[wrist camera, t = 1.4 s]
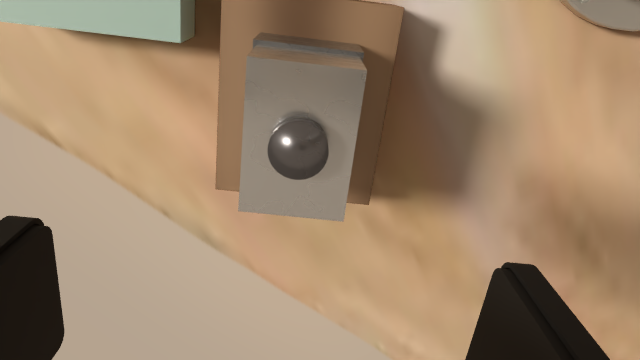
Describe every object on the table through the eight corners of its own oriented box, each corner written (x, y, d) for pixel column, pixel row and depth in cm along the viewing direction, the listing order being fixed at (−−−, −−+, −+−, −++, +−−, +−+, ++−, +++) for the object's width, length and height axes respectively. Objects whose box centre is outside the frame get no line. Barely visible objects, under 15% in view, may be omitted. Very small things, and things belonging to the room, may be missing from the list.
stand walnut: (394, 4, 26) (404, 7, 23) (363, 184, 30) (368, 205, 27) (232, -16, 25) (222, -16, 22) (224, 169, 29) (215, 189, 27)
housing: (358, 44, 23) (375, 69, 17) (339, 170, 26) (348, 235, 20) (260, 32, 23) (238, 52, 16) (252, 160, 26) (230, 223, 19)
